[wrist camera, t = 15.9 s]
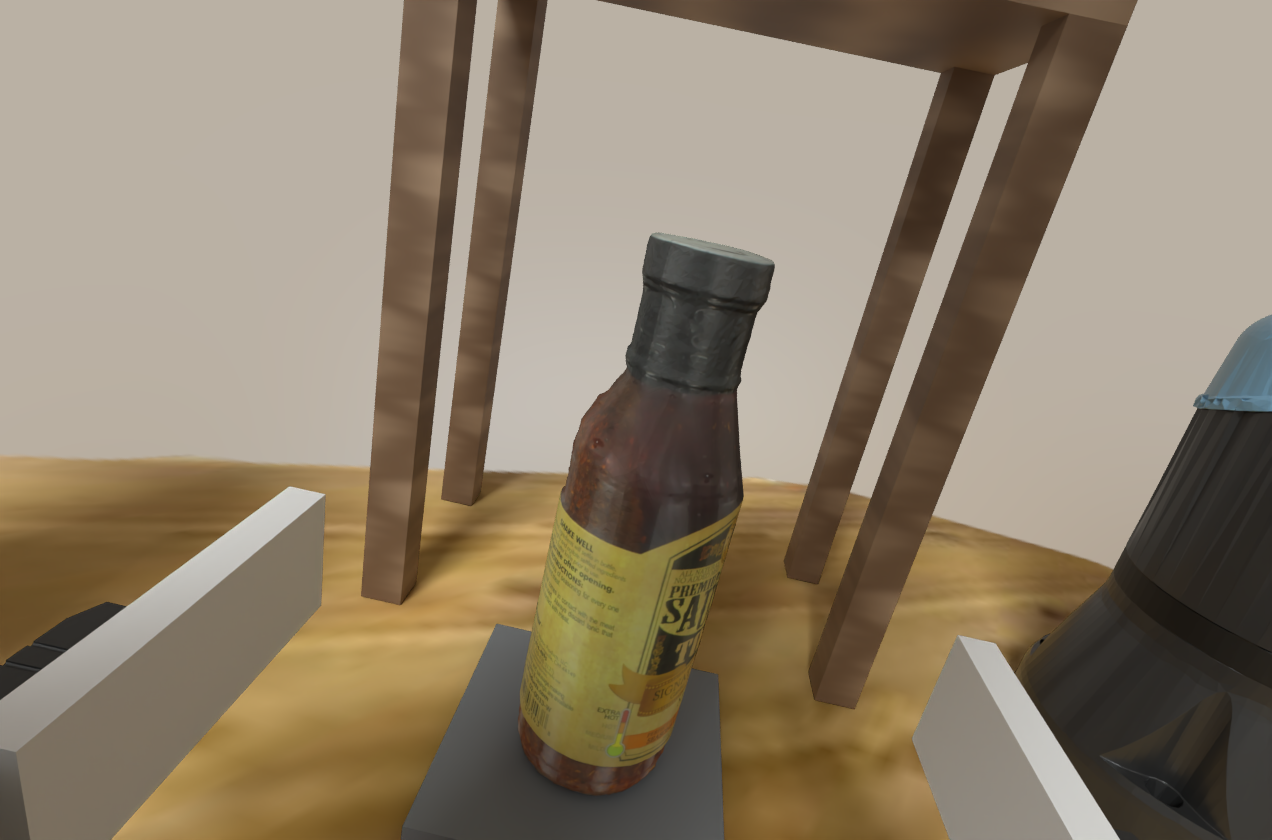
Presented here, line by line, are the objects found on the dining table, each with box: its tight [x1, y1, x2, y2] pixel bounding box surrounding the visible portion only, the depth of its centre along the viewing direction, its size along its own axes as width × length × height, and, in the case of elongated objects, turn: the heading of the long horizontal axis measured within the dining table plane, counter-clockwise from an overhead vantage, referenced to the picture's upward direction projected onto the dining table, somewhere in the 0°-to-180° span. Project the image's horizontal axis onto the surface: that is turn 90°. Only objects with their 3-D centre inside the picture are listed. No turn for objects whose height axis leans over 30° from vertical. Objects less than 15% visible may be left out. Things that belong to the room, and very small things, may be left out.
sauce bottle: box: [518, 233, 775, 796], centre depth 24 cm, size 7×6×20 cm
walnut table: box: [361, 0, 1137, 709], centre depth 34 cm, size 25×13×32 cm, turn 84°
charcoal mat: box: [401, 624, 724, 840], centre depth 28 cm, size 11×11×1 cm
